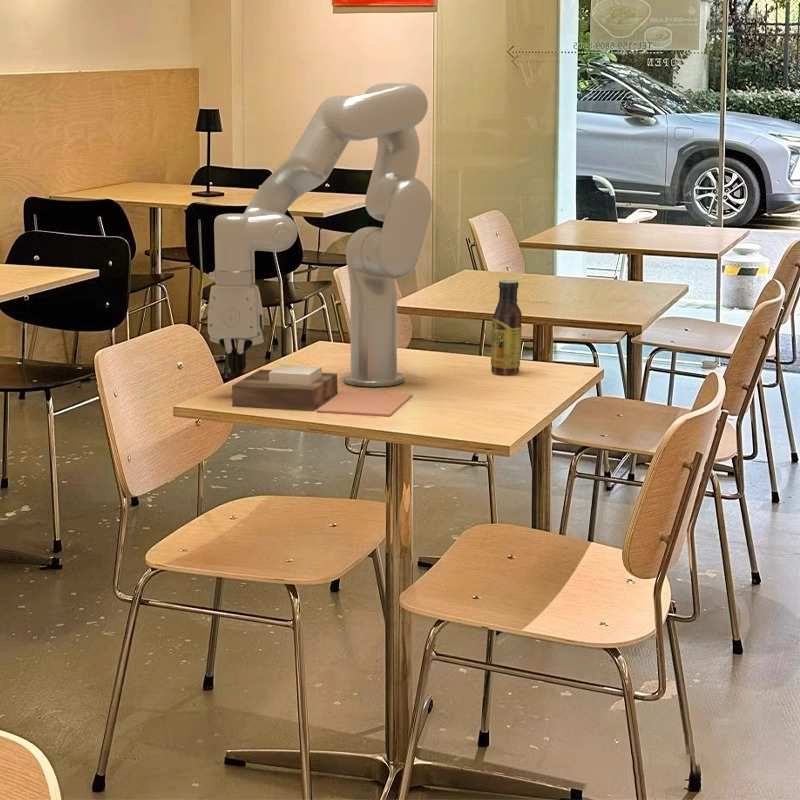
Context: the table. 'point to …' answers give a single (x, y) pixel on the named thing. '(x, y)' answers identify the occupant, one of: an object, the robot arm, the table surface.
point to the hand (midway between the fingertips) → (237, 372)
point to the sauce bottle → (506, 331)
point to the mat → (365, 403)
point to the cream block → (295, 374)
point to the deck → (283, 392)
